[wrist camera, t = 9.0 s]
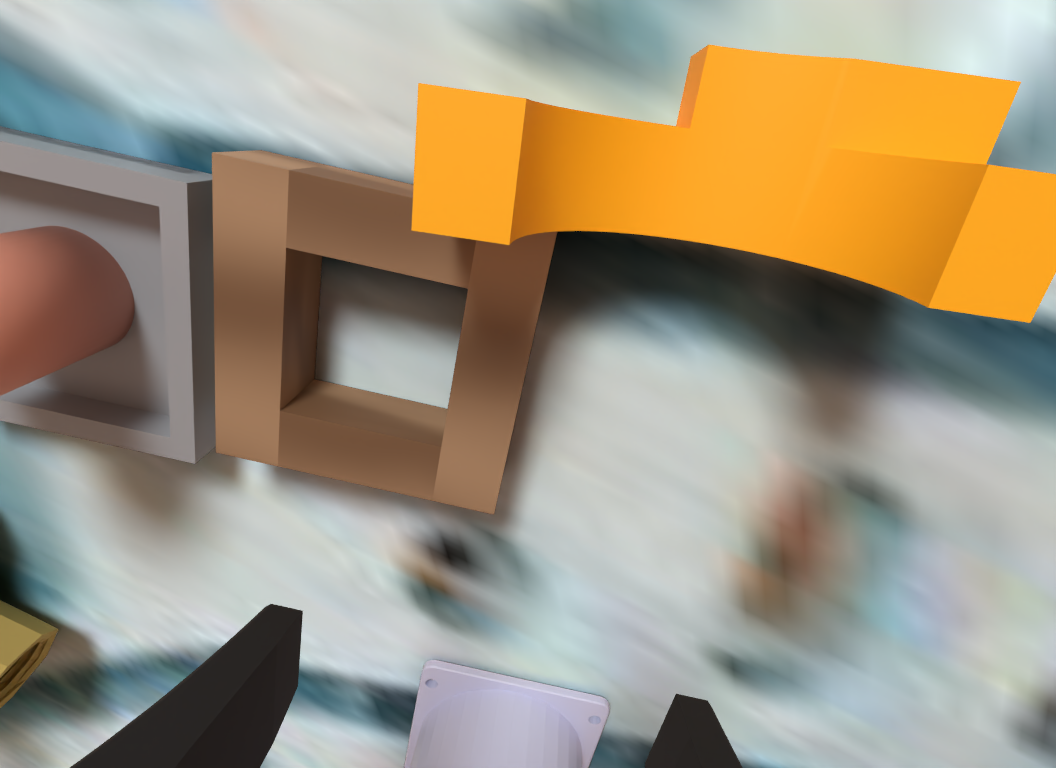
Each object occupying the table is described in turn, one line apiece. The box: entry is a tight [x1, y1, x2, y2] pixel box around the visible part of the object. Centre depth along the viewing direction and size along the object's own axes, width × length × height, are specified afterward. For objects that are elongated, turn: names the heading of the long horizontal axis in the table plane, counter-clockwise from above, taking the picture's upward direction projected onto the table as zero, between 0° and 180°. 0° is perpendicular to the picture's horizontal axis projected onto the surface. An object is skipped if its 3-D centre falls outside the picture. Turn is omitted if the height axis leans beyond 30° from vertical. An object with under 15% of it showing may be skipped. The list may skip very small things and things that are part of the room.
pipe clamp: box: [411, 45, 1056, 323], centre depth 13 cm, size 12×4×6 cm, turn 82°
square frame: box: [212, 150, 557, 514], centre depth 18 cm, size 9×9×2 cm
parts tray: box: [0, 127, 216, 464], centre depth 18 cm, size 9×9×2 cm
